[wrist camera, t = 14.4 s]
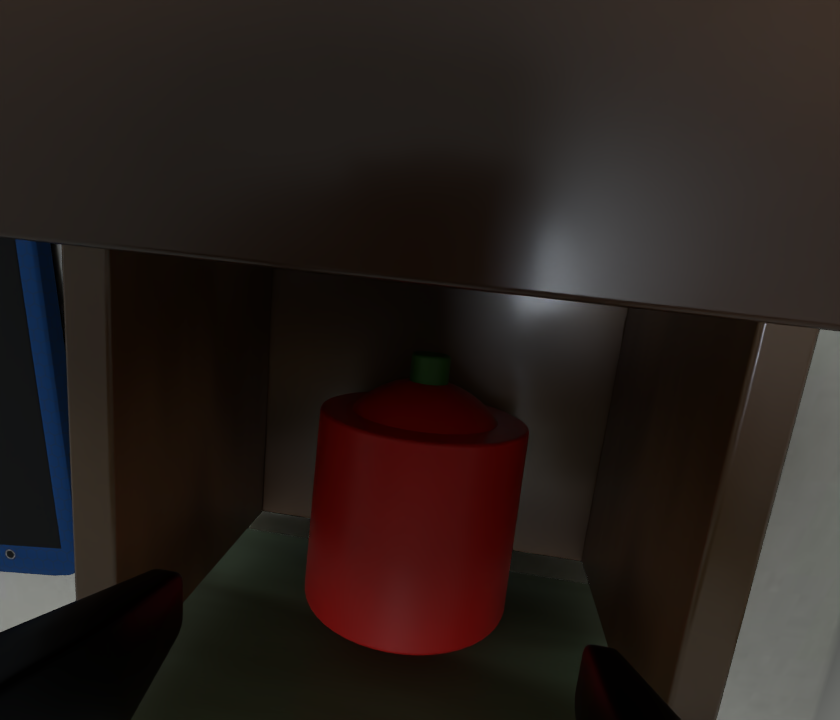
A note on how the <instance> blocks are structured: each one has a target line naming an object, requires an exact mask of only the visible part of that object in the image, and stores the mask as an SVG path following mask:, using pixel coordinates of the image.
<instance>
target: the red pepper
mask: <svg viewBox="0 0 840 720" xmlns="http://www.w3.org/2000/svg"><path fill="white" fill-rule="evenodd" d="M450 365H451V357H450V356H449V355H447V354H443V353H437V352H429V351H416V352H414V353H413V354H412V361H411V370H410V378H406V379H400V380H395V381H392V382H389V383H386V384H383V385H381V386H379V387H377V388H375V389H373V390H371V391H370V392H357V393H349V394H344V395H339V396H336V397H333V398H330V399H328V400H326V401H325V402H324V403H323V404H322V406H321V408H320V417H319V428H318V440H317V451H316V462H315V473H314V485H313V496H312V507H311V518H310V530H309V541H308V552H307V563H306V575H305V594H306V599H307V601H308V603H309V606H310V608H311V610H312V611H313V612H314V614H315V615H316V617H317V618H318V619H319V620H320V621H321V622H322V623H323V624H324V625H326V626H327V627H328V628H329V629H331V630H332V631H333V632H335V633H337V634H338V635H340V636H342V637H344V638H345V639H347V640H350V641H352V642H354V643H356V644H359V645H362V646H365V647H368V648H371V649H374V650H379V651H383V652H387V653H394V654H401V655H436V654H443V653H449V652H453V651H457V650H461V649H464V648H466V647H469V646H472V645H474V644H475V643H477V642H479V641H481V640H483V639H484V638H485V637H486V636H488V635H489V634H490V633H491V632H492V631H493V630H494V629H495V628H496V626H497V625H498V623H499V622H500V620H501V618H502V615H503V612H504V606H505V599H506V592H507V585H508V578H509V571H510V564H511V557H512V550H513V543H514V536H515V529H516V522H517V515H518V508H519V501H520V494H521V487H522V480H523V473H524V466H525V459H526V452H527V445H528V438H529V430H528V427H527V426H526V424H525V423H524V422H522V421H521V420H520V419H518V418H516V417H514V416H512V415H511V414H508V413H506V412H504V411H501V410H499V409H496V408H493V407H490V406H486V405H484V404H483V403H482V402H481V401H480V400H478V399H477V398H476V397H475V396H474V395H472V394H471V393H469V392H467V391H466V390H464V389H462V388H461V387H458V386H456V385H454V384H451V383H449V373H450Z"/></svg>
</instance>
